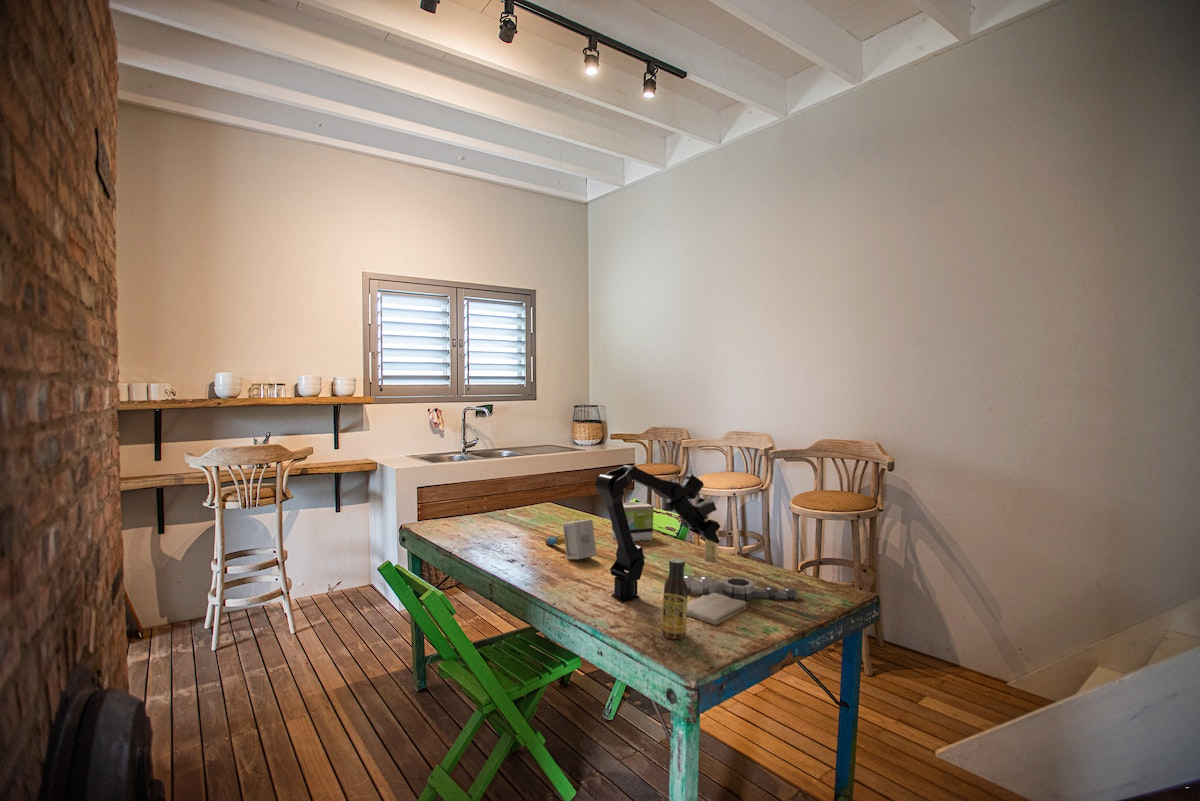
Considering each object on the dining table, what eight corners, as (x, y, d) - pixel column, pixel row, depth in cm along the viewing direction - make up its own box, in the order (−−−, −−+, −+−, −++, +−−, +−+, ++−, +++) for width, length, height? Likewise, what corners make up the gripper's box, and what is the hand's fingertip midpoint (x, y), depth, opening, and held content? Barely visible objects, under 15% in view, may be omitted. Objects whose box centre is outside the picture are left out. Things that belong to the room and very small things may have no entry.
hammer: (540, 559, 236) (579, 559, 212) (536, 525, 238) (574, 522, 214) (558, 556, 241) (598, 555, 217) (554, 523, 243) (593, 519, 219)
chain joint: (681, 596, 181) (681, 580, 181) (682, 586, 190) (682, 571, 190) (799, 604, 175) (799, 588, 174) (794, 593, 184) (794, 578, 184)
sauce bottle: (659, 638, 151) (659, 562, 150) (665, 629, 157) (665, 555, 156) (684, 642, 148) (684, 564, 148) (689, 632, 154) (690, 558, 154)
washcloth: (748, 609, 172) (748, 599, 172) (716, 628, 159) (716, 616, 158) (713, 599, 180) (713, 589, 180) (680, 616, 167) (680, 605, 166)
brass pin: (711, 563, 193) (712, 524, 193) (702, 560, 197) (702, 521, 197) (720, 561, 196) (721, 522, 196) (711, 557, 199) (711, 520, 199)
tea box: (620, 543, 241) (620, 507, 240) (611, 537, 250) (611, 503, 250) (653, 540, 246) (653, 505, 246) (643, 534, 256) (643, 500, 255)
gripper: (715, 497, 186) (745, 529, 189) (689, 487, 204) (717, 517, 207) (692, 523, 184) (723, 555, 187) (668, 510, 202) (697, 540, 205)
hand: (715, 540), depth 197 cm, fingers closed on brass pin, 4 cm apart
